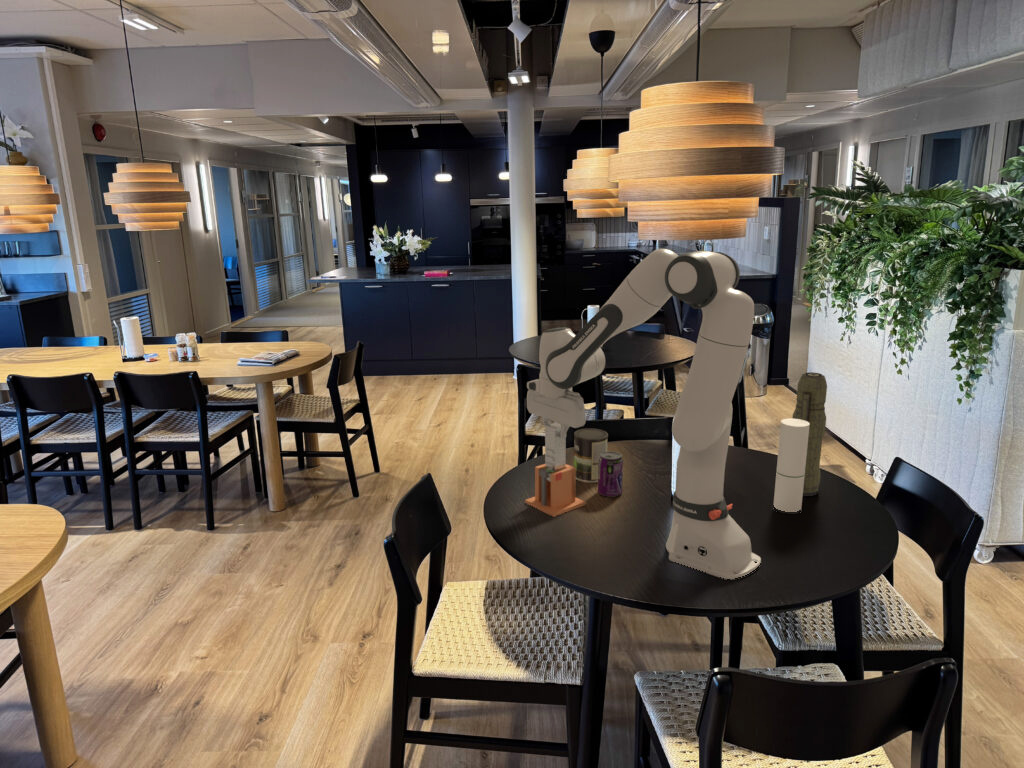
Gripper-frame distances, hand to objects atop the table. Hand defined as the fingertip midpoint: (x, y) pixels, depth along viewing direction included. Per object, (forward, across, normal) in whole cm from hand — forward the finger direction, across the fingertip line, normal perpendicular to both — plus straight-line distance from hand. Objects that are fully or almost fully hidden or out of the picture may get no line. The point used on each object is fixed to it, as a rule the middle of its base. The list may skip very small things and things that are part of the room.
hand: (555, 435), depth 195 cm
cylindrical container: (+20, -44, -46) cm, 67 cm away
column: (+13, 0, 0) cm, 13 cm away
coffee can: (+21, +8, -22) cm, 31 cm away
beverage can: (+21, -5, -17) cm, 27 cm away
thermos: (+20, -40, -61) cm, 76 cm away
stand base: (+20, 0, 0) cm, 20 cm away
